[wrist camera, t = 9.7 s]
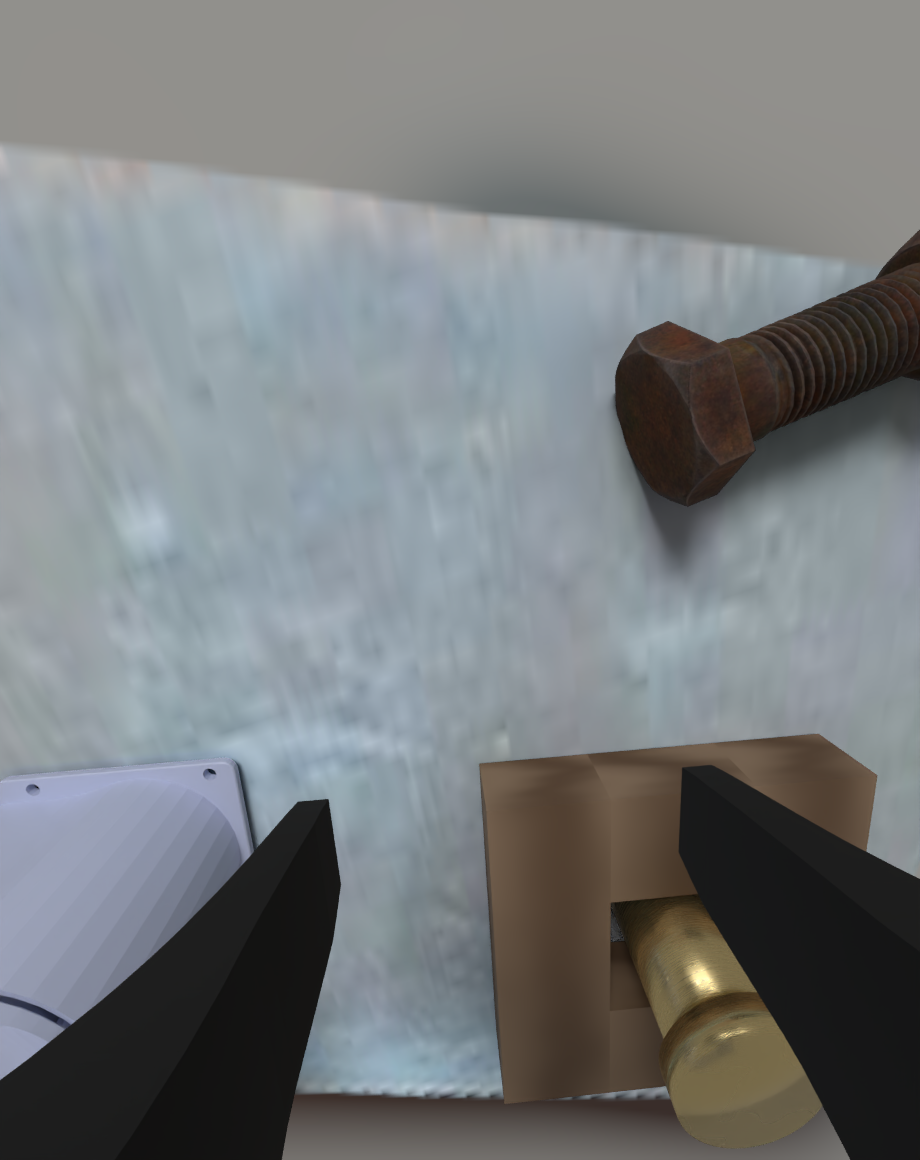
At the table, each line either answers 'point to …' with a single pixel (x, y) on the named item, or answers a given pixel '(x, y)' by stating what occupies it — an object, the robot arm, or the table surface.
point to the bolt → (760, 379)
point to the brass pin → (713, 1029)
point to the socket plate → (613, 892)
